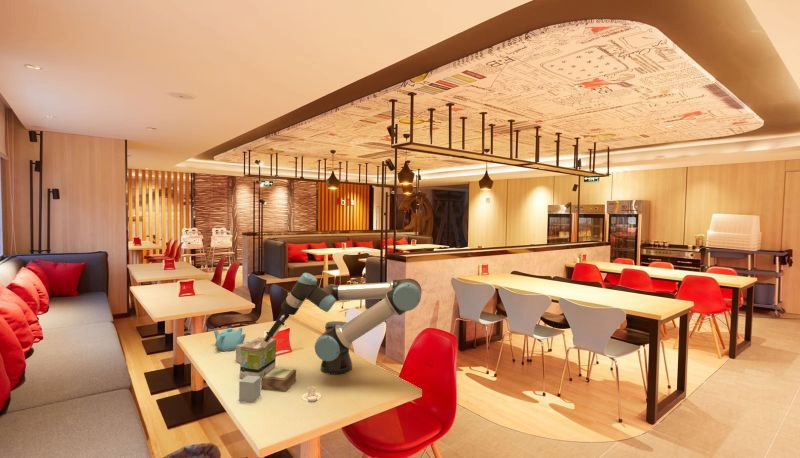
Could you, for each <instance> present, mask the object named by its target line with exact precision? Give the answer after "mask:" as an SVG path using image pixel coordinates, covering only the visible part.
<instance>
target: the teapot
mask: <svg viewBox="0 0 800 458" xmlns="http://www.w3.org/2000/svg"><path fill="white" fill-rule="evenodd" d="M213 332H214V333H213V334H214V337H215V348H217V350H219V351H222V352H232V351H236V345H239V344H242V343H245V339H246V336H247V335H246V333H243V327H239V328H238V329H233V327H227V328H226V329H224V330H222V331H221V332H219V331H218V330H217V329H216V330H214V331H213Z"/></svg>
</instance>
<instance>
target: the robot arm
mask: <svg viewBox="0 0 800 458" xmlns="http://www.w3.org/2000/svg"><path fill="white" fill-rule="evenodd" d="M317 283H318V279H317V278H316V276H314V275H313V274H311V273H308V272H303V273H302V274H301V275H300V276H299V278H298V279H297V281H296V283H295V284H294V285H293V286H292V289H291V290H290V291H289V292H287V297H286V298H285V299H284V300H283V302H282V303H281V305H280V308H281V310H282V311H281V312H280V313H279V314H278V317H277V318H276V320H275V322H274V324H273V325H272V326H271V327H270V329H269V330H268V331H266V332H265V334H266V335H265V337H263V338H264V339H263V341H262V342H261V344H260V346H262V347H264V348H265V347H266V346H267V344H268V343H269V342H270V340H271V339H273V337H275V336H276V335H277V334H278V332H279V331H280V329H281V327H282V326H285V323H286V321H287V320H288V319H289V318H290V316H294V315H296V314H297V313H298V311H299V308H301V307H302V305H303V304H304V303H305V300H308V301H309V302H310V303H312V304H313V305H314V306H316V307H317V308H319V309H320V310H321V311H323V312H325V313H327V312H330V310H331V309H332V308H333V306H334V304H335V303H336V302H339V301H360V300H379V301H378V302H376V303H375V304H373V305H372V306H371V307H368V309H366V310H364V311H363V312H361V313H359V314H358V315H357V316H354V317H353V318H352V319H350V320H348V321H347V322H346V321H341V320H339V321H337V320H336V321H335V320H333V321H328V322H326V323H325V327H324V328H325V331H323V333H321V335H320V336H318V338H317V339H316V341H315V343H314V352H315V355H316V356H317V357H318V358H319V359H320V360H321V363H320V370H321V372H322V373H323V374H327V375H334V376H335V375H336V376H337V375H338V376H339V375H345V374H347V373H350V372H351V371H352V370H353V362H352V358H351V355H350V351H349V350H350V348H351V347H352V343H353V342H354V341H356V340H358V339H359V338H361V337H363V336H364V335H366V334H367V333H369V332H370V331H372V330H373V329H375V328H376V327H378V326H380V325H382V323H385V322H386V321H387V320H389V319H390V318H392V317H394V316H395V315H396V316H402V315H403V314H405V313H406V312H409V311H412V310H415V308H416V307H418V305H419V304H420V302H421V300H422V286H421V285H420V283H419V282H418V281H417V280H415V279H414V278H409V277H408V278H402V279H401V278H400V279H392V280H391V281H390V282H389V281H388V282H387V281H386V282H374V283H372V282H370V283H354V284H337V285H336V284H333V283H331V284H328V285H325V286H324V287H323V288H322V287H320V286H319V285H318V284H317Z"/></svg>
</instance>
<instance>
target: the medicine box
mask: <svg viewBox="0 0 800 458" xmlns="http://www.w3.org/2000/svg"><path fill="white" fill-rule="evenodd" d="M249 342H251V341H246V342H243V343H242V344H239V345H236V350H235V362H236V363H239V364H240V360H241V346H243V345H245V344H247V343H249Z"/></svg>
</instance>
